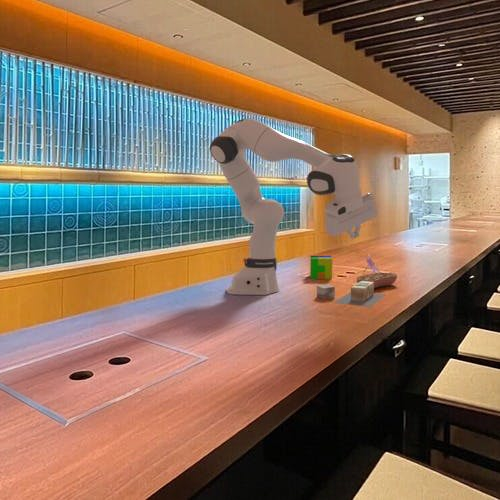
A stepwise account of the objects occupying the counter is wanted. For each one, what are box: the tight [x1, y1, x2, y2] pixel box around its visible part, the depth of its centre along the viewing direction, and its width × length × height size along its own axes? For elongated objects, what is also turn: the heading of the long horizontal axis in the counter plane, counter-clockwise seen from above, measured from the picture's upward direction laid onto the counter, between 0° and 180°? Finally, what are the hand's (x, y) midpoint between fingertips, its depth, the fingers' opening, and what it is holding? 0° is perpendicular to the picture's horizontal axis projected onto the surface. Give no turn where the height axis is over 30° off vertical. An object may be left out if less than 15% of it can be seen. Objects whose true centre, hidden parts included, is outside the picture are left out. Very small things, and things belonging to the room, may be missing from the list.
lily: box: [362, 253, 381, 274], centre depth 236 cm, size 12×12×10 cm
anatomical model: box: [356, 272, 398, 289], centre depth 205 cm, size 23×10×5 cm, turn 130°
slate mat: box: [333, 291, 386, 308], centre depth 182 cm, size 22×14×1 cm, turn 150°
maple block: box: [350, 281, 375, 301], centre depth 184 cm, size 5×5×14 cm
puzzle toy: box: [309, 255, 333, 280], centre depth 229 cm, size 10×10×10 cm
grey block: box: [316, 284, 336, 300], centre depth 184 cm, size 5×5×5 cm
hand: (354, 237), depth 166 cm, fingers closed
